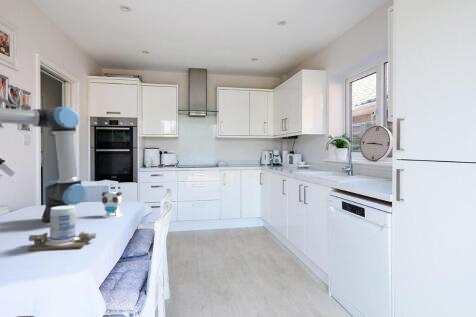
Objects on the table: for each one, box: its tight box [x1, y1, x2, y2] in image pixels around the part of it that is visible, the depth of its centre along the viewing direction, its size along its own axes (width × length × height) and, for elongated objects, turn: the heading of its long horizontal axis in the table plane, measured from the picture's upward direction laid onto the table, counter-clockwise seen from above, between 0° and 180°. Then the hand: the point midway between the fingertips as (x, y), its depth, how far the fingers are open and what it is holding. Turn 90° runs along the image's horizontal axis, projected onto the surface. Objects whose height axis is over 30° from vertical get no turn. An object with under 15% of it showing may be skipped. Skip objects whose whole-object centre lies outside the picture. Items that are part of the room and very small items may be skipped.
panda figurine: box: [101, 191, 123, 219], centre depth 177 cm, size 12×11×15 cm
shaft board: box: [27, 231, 97, 252], centre depth 124 cm, size 16×26×5 cm, turn 100°
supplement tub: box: [49, 205, 77, 243], centre depth 124 cm, size 10×10×15 cm
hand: (7, 175), depth 123 cm, fingers open, 13 cm apart
